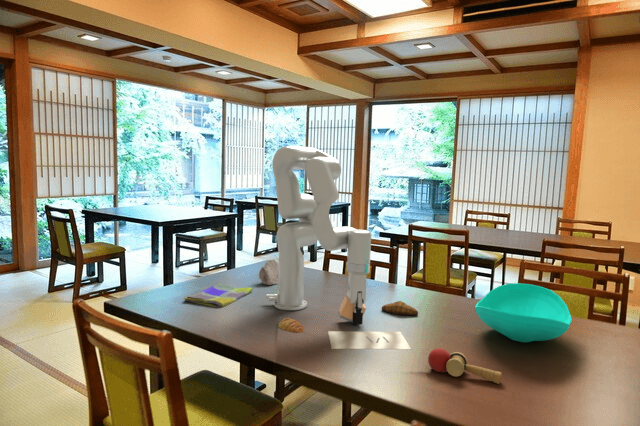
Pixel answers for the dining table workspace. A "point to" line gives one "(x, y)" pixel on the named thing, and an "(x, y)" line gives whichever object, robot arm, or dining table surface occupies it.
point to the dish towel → (219, 295)
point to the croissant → (400, 309)
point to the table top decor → (524, 312)
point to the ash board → (367, 340)
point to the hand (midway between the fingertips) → (356, 320)
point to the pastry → (291, 325)
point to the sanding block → (348, 309)
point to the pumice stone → (269, 272)
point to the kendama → (459, 365)
